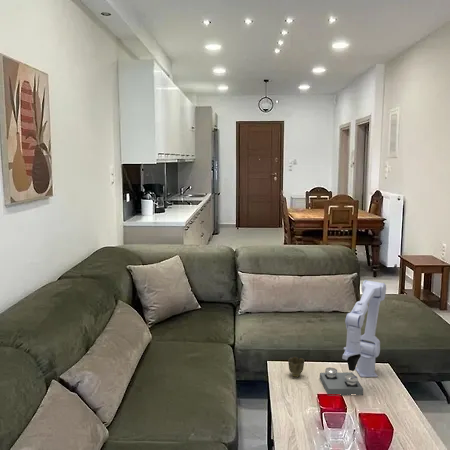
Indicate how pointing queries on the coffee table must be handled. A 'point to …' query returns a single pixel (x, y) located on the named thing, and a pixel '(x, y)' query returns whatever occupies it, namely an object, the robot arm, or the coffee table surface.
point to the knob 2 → (351, 380)
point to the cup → (296, 366)
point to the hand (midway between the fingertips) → (351, 370)
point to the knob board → (340, 385)
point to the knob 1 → (331, 373)
